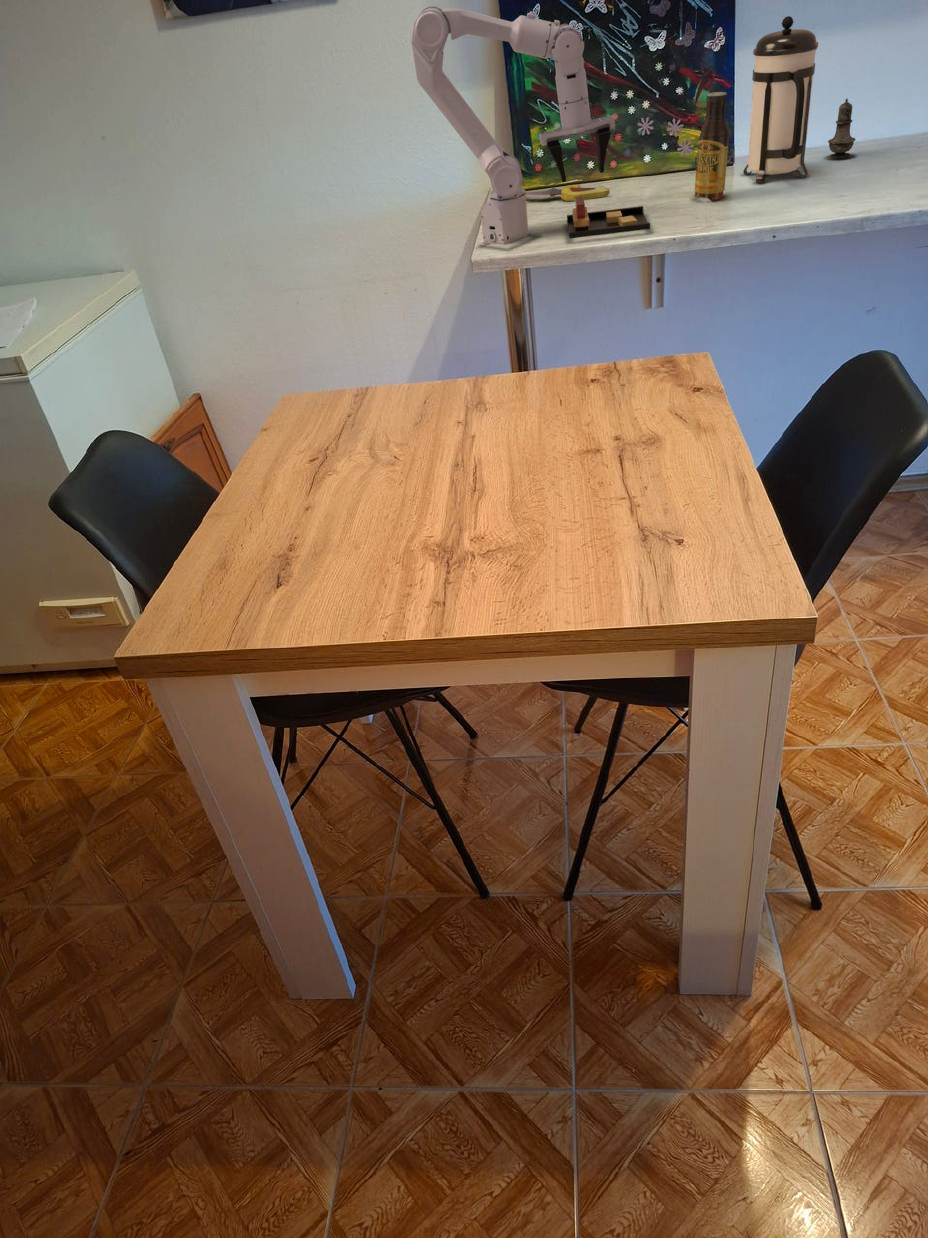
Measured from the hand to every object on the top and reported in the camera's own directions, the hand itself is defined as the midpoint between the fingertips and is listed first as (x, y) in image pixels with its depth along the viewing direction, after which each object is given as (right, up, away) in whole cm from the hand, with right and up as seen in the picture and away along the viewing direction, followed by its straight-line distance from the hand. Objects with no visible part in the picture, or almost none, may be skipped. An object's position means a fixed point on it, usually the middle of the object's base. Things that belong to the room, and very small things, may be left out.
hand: (582, 176), depth 175 cm
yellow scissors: (-2, +10, +31) cm, 32 cm away
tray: (+6, -8, +5) cm, 11 cm away
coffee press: (+47, +10, +21) cm, 52 cm away
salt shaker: (+64, +18, +28) cm, 72 cm away
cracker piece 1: (+7, -6, +7) cm, 11 cm away
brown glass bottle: (+30, +2, +14) cm, 33 cm away
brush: (0, -8, +5) cm, 10 cm away
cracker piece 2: (+9, -9, +2) cm, 13 cm away
